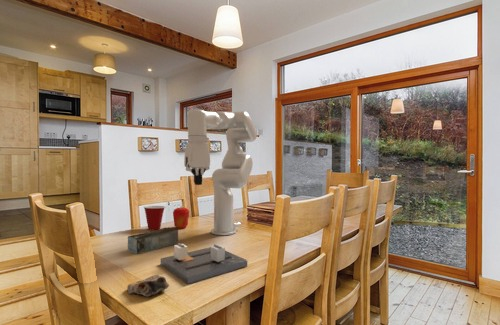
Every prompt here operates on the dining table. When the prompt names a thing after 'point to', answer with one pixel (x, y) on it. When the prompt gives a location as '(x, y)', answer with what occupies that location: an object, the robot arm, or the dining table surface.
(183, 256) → the fader cream
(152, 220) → the plastic cup
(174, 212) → the apple
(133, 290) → the rock
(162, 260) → the console
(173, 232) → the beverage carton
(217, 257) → the white block
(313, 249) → the dining table surface
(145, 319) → the dining table surface
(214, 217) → the robot arm
